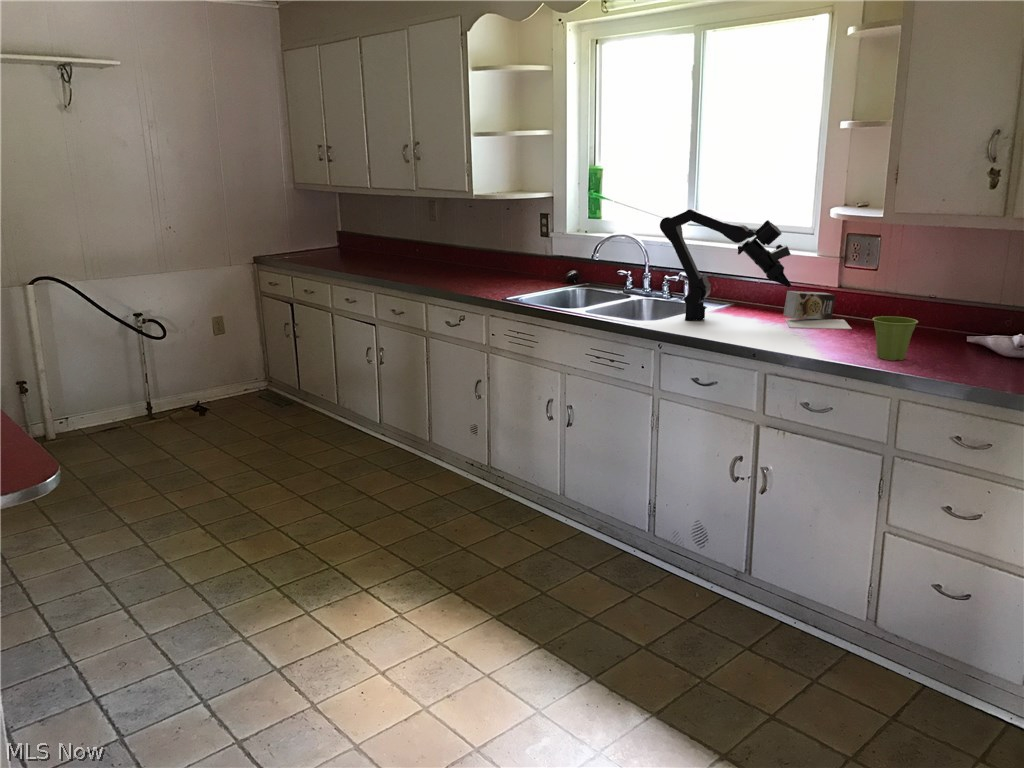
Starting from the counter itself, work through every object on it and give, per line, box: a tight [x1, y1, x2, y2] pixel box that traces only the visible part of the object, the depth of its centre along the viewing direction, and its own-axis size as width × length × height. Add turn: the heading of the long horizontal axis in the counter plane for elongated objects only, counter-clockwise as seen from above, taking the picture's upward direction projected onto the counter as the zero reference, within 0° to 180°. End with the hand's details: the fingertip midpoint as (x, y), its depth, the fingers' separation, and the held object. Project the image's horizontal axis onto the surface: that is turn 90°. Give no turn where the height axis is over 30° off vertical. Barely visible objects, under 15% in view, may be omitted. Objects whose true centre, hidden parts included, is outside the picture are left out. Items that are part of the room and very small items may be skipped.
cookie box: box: [782, 290, 837, 319], centre depth 290 cm, size 9×6×16 cm
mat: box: [784, 318, 853, 330], centre depth 284 cm, size 20×16×1 cm
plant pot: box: [872, 315, 919, 361], centre depth 232 cm, size 12×12×11 cm
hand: (790, 286), depth 282 cm, fingers closed
